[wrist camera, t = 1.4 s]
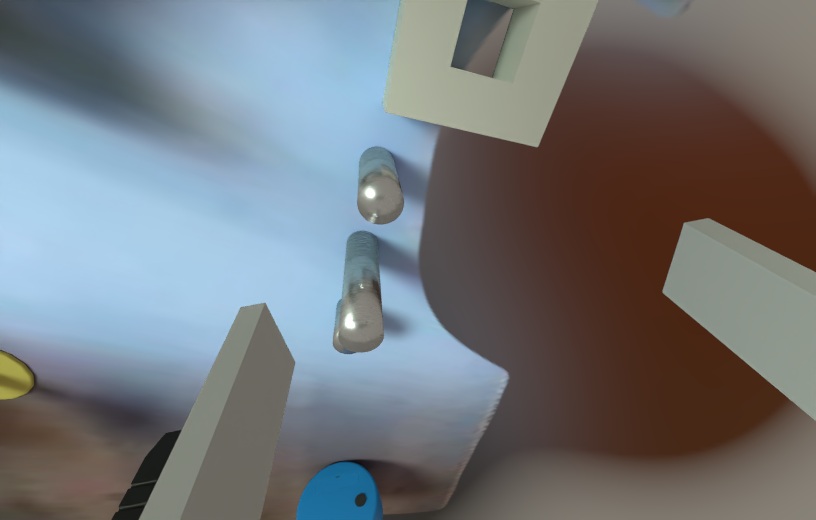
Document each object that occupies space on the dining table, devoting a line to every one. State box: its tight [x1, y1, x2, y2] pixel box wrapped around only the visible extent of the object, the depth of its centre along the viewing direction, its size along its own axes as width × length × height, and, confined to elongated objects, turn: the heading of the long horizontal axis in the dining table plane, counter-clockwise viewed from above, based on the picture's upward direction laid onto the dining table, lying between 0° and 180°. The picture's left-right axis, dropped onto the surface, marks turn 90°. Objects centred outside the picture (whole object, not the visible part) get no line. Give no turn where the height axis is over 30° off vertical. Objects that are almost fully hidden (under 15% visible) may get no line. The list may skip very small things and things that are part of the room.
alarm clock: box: [297, 462, 383, 520], centre depth 55 cm, size 13×6×15 cm, turn 96°
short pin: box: [333, 299, 357, 354], centre depth 39 cm, size 3×3×6 cm
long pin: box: [338, 231, 384, 352], centre depth 32 cm, size 3×3×14 cm
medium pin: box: [357, 147, 404, 224], centre depth 29 cm, size 3×3×10 cm
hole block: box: [383, 0, 599, 147], centre depth 26 cm, size 13×13×5 cm
